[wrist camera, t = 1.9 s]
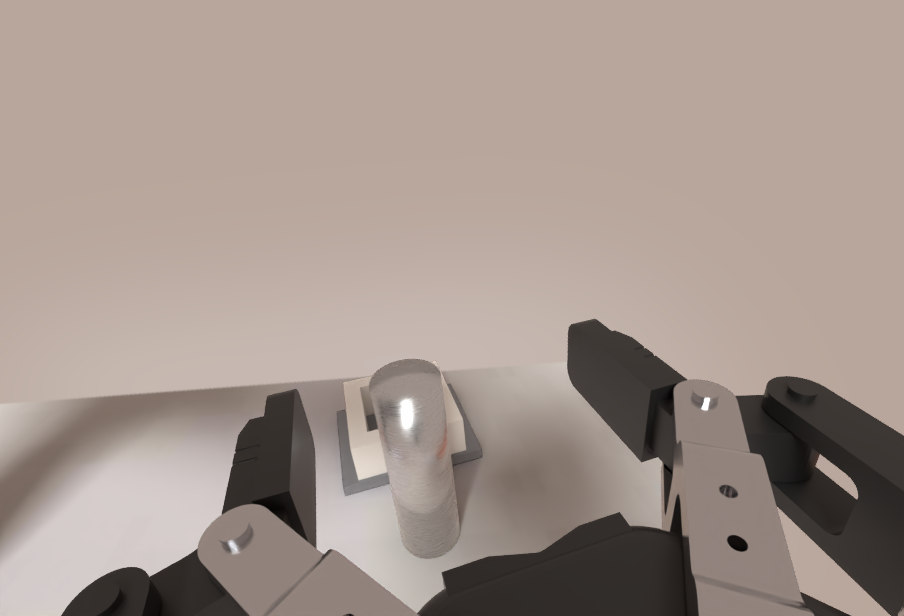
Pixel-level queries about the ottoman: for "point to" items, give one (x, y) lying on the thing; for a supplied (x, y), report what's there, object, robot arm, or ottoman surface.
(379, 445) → the dock
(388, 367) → the silver metal cylinder
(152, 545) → the ottoman surface
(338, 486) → the ottoman surface
